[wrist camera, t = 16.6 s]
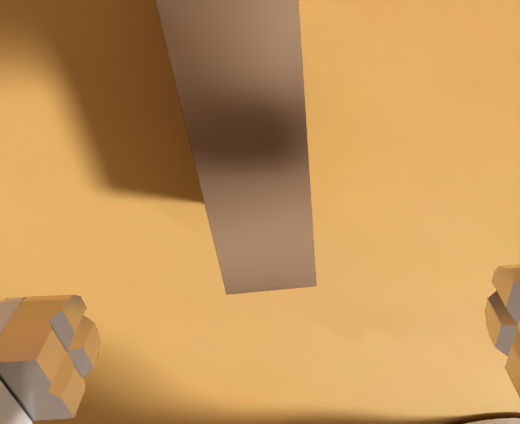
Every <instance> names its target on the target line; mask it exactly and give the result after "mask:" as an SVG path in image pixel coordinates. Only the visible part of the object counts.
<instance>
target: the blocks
mask: <svg viewBox="0 0 520 424" xmlns="http://www.w3.org/2000/svg"><path fill="white" fill-rule="evenodd" d="M155 1H156V5H157V9H158V13H159V17H160V21H161V26H162V30H163V34H164V38H165V42H166V46H167V50H168V55H169V59H170V63H171V67H172V71H173V75H174V79H175V84H176V88H177V92H178V96H179V100H180V104H181V108H182V113H183V117H184V121H185V125H186V129H187V133H188V137H189V142H190V146H191V150H192V154H193V158H194V162H195V166H196V171H197V175H198V179H199V183H200V187H201V191H202V195H203V200H204V204H205V208H206V212H207V216H208V220H209V224H210V229H211V233H212V237H213V241H214V245H215V249H216V253H217V258H218V262H219V266H220V270H221V274H222V278H223V282H224V287H225V291H226V295H227V294H238V293H249V292H260V291H270V290H281V289H292V288H302V287H313V286H316V271H315V255H314V239H313V224H312V208H311V192H310V176H309V160H308V144H307V128H306V113H305V97H304V81H303V65H302V49H301V33H300V18H299V2H298V0H155Z"/></svg>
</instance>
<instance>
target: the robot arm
mask: <svg viewBox="0 0 520 424" xmlns="http://www.w3.org/2000/svg"><path fill="white" fill-rule="evenodd" d="M492 283H493V285H494V286H495V288H496V290H497V291H496V292H494V293H493V294H492V295H491V296H490V297H489V298H488V299H487V304H486V309H485V314H486V325H487V328H488V332H489V335H490V337H491V340H492V342H493V344H494V346H495V348H497V349H498V350H500V351H501V352H502V353H504V354H505V355H507V356H508V359H507V362H506V366H505V369H506V371H507V373H508V375H509V377H510V379H511V381H512V383H513V385H514V387H515V389H516V391H517V393H518V395H519V397H520V265H506V266H498V268H497V269H496V270H495V271H494V275H493V279H492ZM85 310H86V306H85V304H84V302H83V300H82V299H81V297H80V296H77V295H58V296H34V297H22V298H5V299H3V300H2V301H0V424H33V422H32V421H39V420H54V419H68V418H74V417H75V415H76V412H77V410H78V407H79V405H80V402H81V399H82V397H83V394H84V392H85V389H86V385H85V382H84V379H83V377H84V376H85V375H86V374H87V373H88V372H89V371H91V370H92V369H93V368H94V366H95V363H96V360H97V357H98V354H99V344H100V339H99V334H98V330H97V328H96V325H95V323H94V322H93V321H91V320H90V319H88V318H87V317H85V316H84V315H83V314H84V312H85ZM465 424H520V418H501V419H490V420H482V421H476V422H470V423H465Z"/></svg>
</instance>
